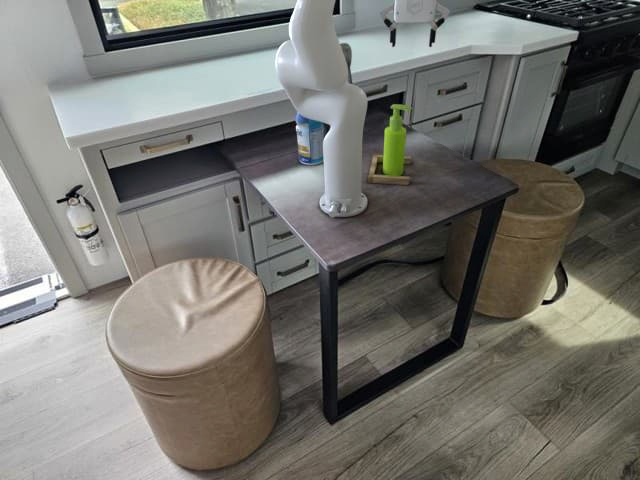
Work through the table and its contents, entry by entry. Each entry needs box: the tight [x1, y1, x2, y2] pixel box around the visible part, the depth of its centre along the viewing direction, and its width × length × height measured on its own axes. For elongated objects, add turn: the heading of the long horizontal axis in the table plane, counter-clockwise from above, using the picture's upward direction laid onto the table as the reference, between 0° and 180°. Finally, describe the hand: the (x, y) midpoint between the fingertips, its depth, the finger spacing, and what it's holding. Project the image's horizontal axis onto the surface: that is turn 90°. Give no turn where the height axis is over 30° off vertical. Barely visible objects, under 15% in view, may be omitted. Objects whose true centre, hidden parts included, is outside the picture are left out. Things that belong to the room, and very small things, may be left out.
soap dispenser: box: [382, 103, 413, 176], centre depth 120 cm, size 6×7×20 cm
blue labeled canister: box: [295, 112, 325, 166], centre depth 129 cm, size 8×8×20 cm
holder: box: [367, 153, 412, 186], centre depth 126 cm, size 14×11×2 cm
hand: (411, 45), depth 114 cm, fingers open, 9 cm apart
